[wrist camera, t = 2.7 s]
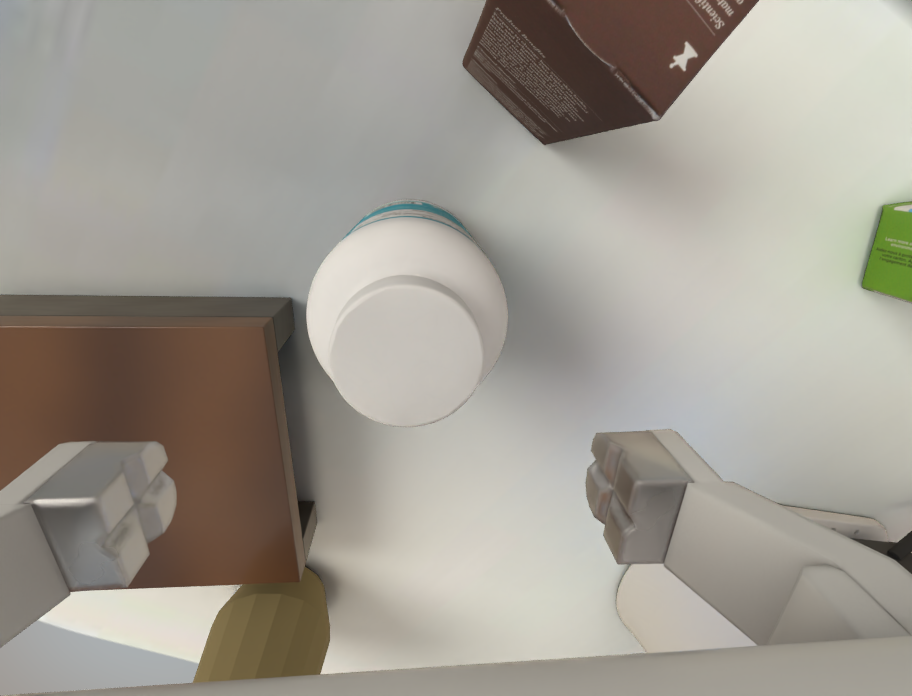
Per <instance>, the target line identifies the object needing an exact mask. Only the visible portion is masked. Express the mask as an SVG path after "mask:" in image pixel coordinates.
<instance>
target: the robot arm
mask: <svg viewBox="0 0 912 696" xmlns="http://www.w3.org/2000/svg"><path fill="white" fill-rule="evenodd" d="M591 451H592V453H593V455H594V457H595V458H596V461H595V462H594V463H593V464H592V465H591V466H590V467H589V468H588V469H587V476H586V495H587V500H588V503H589V507H590V509H591V511H592V513H593V516H594V517H595V518H596V519H598V520H599V521H600V522H602V523H603V524H605V528H604V533H603V536H604V538H605V540H606V542H607V544H608V546H609V548H610V550H611V552H612V554H613V556H614V558H615V560H616V562H617V564H632V565H631V566H630V567H629V568H628V570H627V571H626V573H625V575H624V576H623V578H622V580H621V582H620V585H619V588H618V591H617V598H616V605H617V611H618V614H619V617H620V619H621V620H622V622H623V623H624V625H625V626H626V627H627V628H628V629H629V631H630V632H631V633H632V634H633V635H634V637H635V638H636V639H637V640H638V642H639V643H640V644H641V646H642V647H643V649H644V650H645V652H646V653H639V654H624V655H609V656H594V657H578V658H563V659H548V660H533V661H517V662H502V663H487V664H472V665H457V666H441V667H426V668H411V669H396V670H381V671H366V672H350V673H335V674H320V675H305V676H290V677H275V678H259V679H244V680H229V681H213V682H198V683H183V684H168V685H153V686H137V687H122V688H106V689H91V690H76V691H62V692H61V691H60V692H47V693H46V692H45V693H30V694H16V695H0V696H912V553H911V552H912V531H911V532H910V533H909V534H907V535H906V536H905V537H904V538H903V539H901V540H900V541H899V542H898V543H893V542H889V541H888V535H887V532H886V529H885V528H884V527H883V526H882V525H881V524H880V523H879V522H878V521H877V520H875V519H871V518H866V517H859V516H853V515H846V514H839V513H832V512H825V511H818V510H811V509H804V508H797V507H790V506H783V505H780V504H778V503H776V502H774V501H771V500H769V499H767V498H765V497H763V496H761V495H759V494H757V493H755V492H753V491H751V490H749V489H747V488H745V487H742V486H740V485H738V484H736V483H734V482H724V481H723V480H722V479H721V478H720V477H719V476H718V475H717V474H716V473H715V472H714V470H713V469H712V468H711V467H710V466H709V465H708V464H707V463H706V462H705V461H704V460H703V459H702V458H701V457H700V456H699V455H698V454H697V453H696V451H695V450H694V449H693V448H692V447H691V446H690V445H689V444H688V443H687V442H686V441H685V440H684V439H683V438H682V437H681V436H680V435H679V434H678V432H676V431H673V430H671V429H664V430H646V431H632V432H605V433H596V435H595V437H594V439H593V442H592V447H591ZM167 462H168V458H167V455H166V452H165V449H164V446H163V445H162V444H160V443H158V442H156V441H98V442H95V441H81V442H67V443H62V444H58V445H57V446H56V447H55V448H53V449H52V450H51V451H50V452H48V453H47V454H46V455H45V456H43V457H42V458H41V459H40V460H38V461H37V462H36V463H35V464H33V465H32V466H31V467H30V468H28V469H27V470H26V471H25V472H23V473H22V474H21V475H20V476H18V477H17V478H16V479H15V480H13V481H12V482H11V483H10V484H8V485H7V486H6V487H5V488H3V489H2V490H1V491H0V648H1V647H2V646H3V645H5V644H6V643H7V642H9V641H10V640H11V639H13V638H14V637H15V636H17V635H18V634H19V633H21V632H22V631H23V630H25V629H26V628H27V627H28V626H30V625H31V624H32V623H34V622H35V621H36V620H38V619H39V618H40V617H42V616H43V615H44V614H46V613H47V612H48V611H50V610H51V609H52V608H54V607H55V606H56V605H58V604H59V603H60V602H62V601H63V600H64V599H65V598H67V597H68V596H69V595H70V592H75V591H89V590H102V589H115V588H127V587H128V586H129V584H130V583H131V581H132V580H133V578H134V577H135V575H136V574H137V572H138V571H139V569H140V568H141V566H142V565H143V563H144V562H145V560H146V559H147V557H148V556H149V555H150V552H149V548H148V543H150V542H151V541H153V540H154V539H156V538H157V537H159V536H160V535H162V534H163V533H164V532H165V530H166V529H167V527H168V526H169V524H170V522H171V521H172V518H173V515H174V511H175V508H176V504H177V492H176V487H175V483H174V480H173V479H171V478H170V477H169V476H168V475H167V474H166V473H164V472H163V471H162V470H163V468H164V467H165V465H166V463H167Z"/></svg>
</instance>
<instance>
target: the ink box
mask: <svg viewBox="0 0 912 696" xmlns="http://www.w3.org/2000/svg"><path fill="white" fill-rule="evenodd" d="M882 209H883V211H882V215H881V218H880V222H879V226H878V229H877V233H876V237H875V240H874V244H873V247H872V251H871V254H870V258H869V261H868V265H867V268H866V272H865V275H864V278H863V282H862V287H863V288H864V289H867V290H870V291H873V292H877V293H880V294H883V295H887V296H890V297H893V298H896V299H900V300H903V301H906V302H910V303H912V202H903V203H896V204H890V205H884V206H882Z"/></svg>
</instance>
